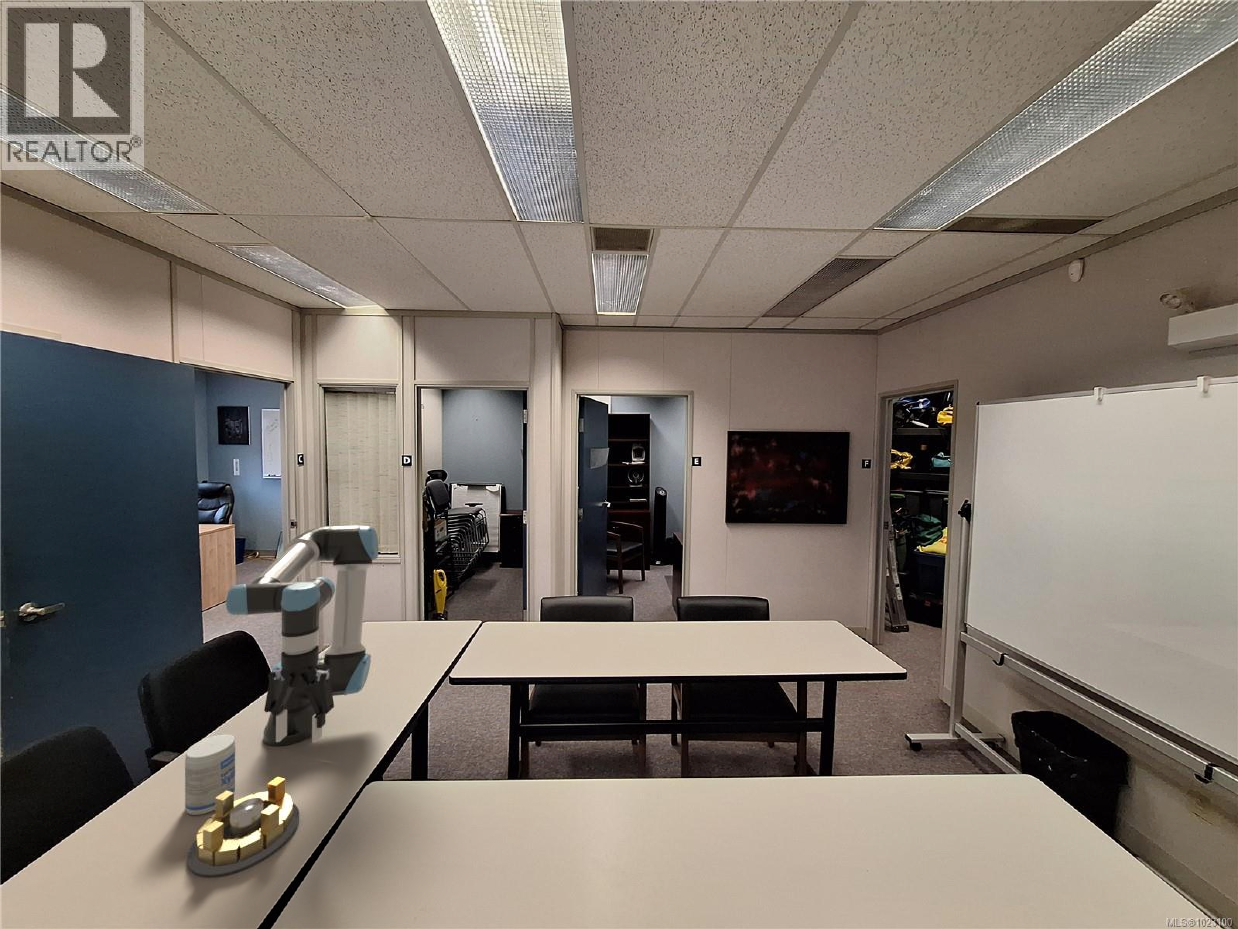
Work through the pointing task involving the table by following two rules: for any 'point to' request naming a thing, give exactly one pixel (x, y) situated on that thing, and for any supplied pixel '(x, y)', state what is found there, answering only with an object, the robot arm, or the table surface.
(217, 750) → the supplement tub
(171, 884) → the table surface
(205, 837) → the yellow block ring
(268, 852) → the spindle base
